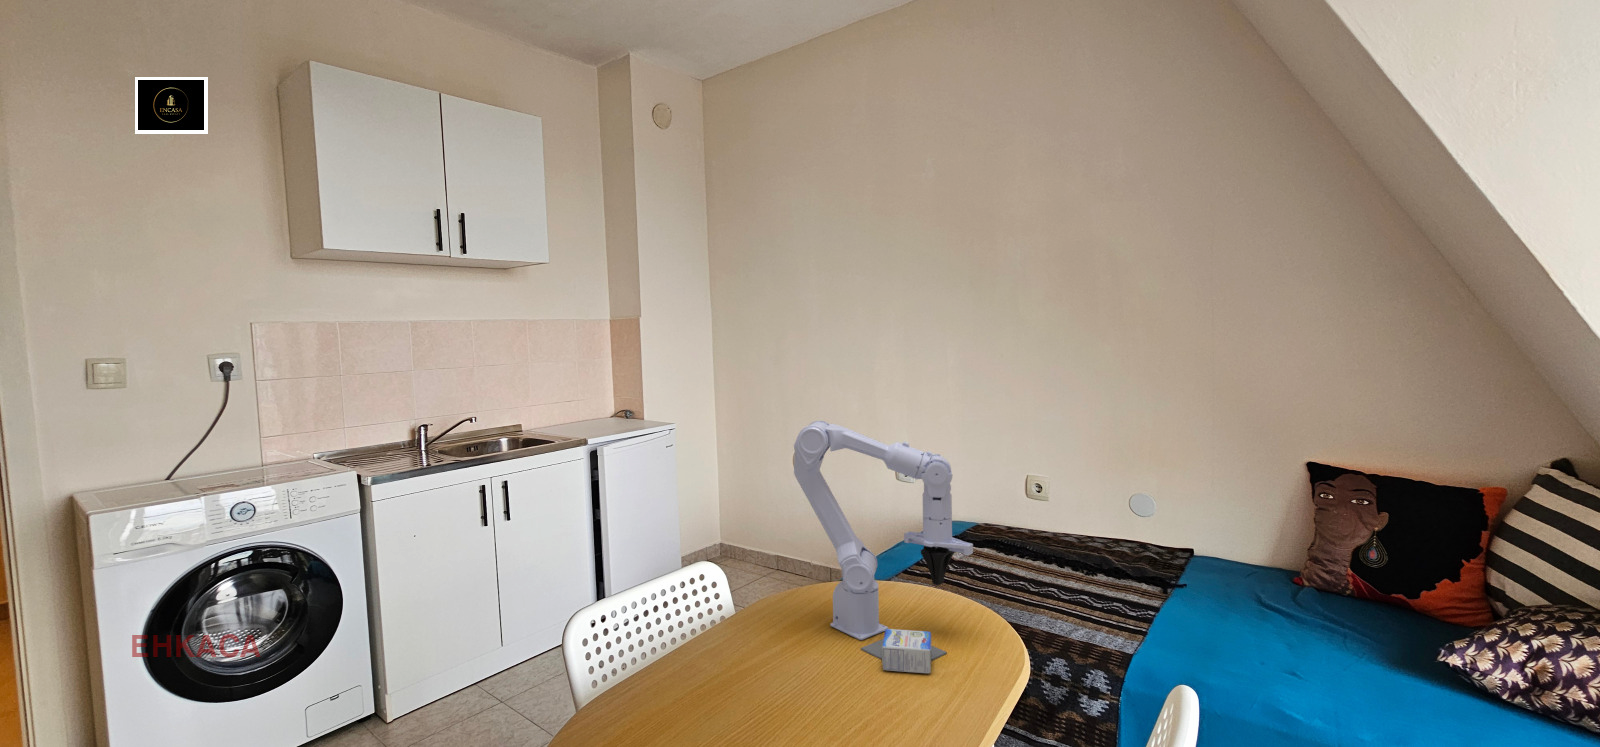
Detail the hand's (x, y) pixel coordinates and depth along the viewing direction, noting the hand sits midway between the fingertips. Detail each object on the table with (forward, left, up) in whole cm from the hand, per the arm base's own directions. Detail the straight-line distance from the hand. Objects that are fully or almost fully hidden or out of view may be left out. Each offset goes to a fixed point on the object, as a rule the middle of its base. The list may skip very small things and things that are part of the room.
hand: (938, 583), depth 136 cm
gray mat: (0, -11, -10) cm, 15 cm away
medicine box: (+8, -11, -8) cm, 16 cm away
